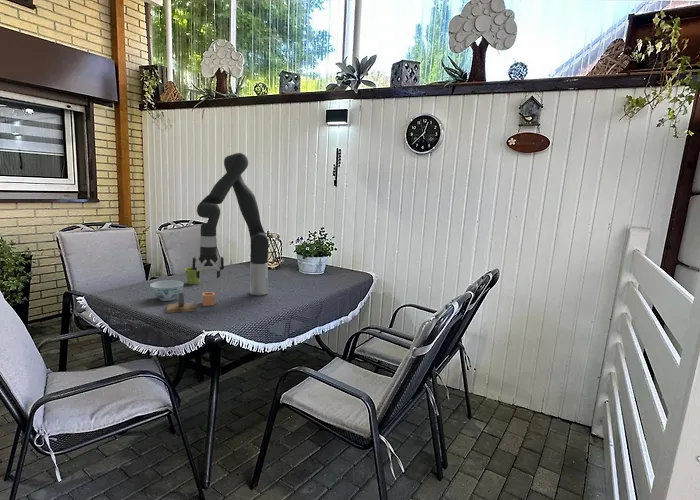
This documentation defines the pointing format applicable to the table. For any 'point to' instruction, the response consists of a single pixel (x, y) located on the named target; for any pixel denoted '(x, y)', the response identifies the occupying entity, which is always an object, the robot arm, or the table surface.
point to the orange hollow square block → (208, 298)
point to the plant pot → (192, 276)
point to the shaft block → (181, 306)
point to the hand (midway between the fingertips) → (208, 278)
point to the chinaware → (166, 289)
